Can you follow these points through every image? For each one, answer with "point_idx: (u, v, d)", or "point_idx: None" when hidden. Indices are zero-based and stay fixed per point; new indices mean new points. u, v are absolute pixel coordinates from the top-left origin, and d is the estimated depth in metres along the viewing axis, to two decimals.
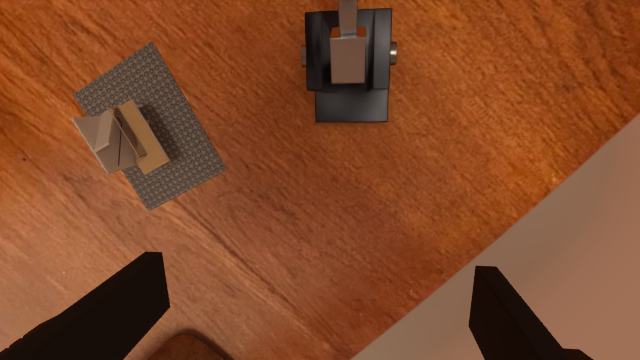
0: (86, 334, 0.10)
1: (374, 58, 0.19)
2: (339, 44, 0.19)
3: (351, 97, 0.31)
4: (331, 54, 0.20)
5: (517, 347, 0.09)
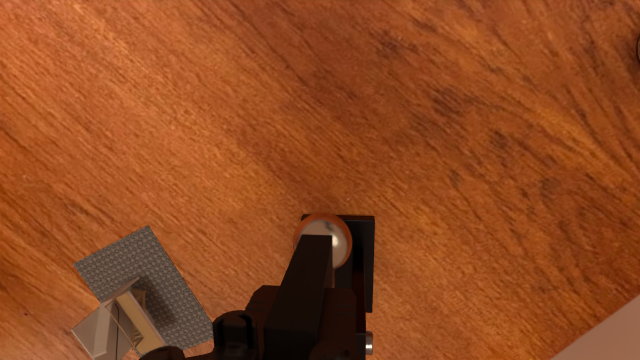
0: None
1: None
2: None
3: None
4: None
5: None
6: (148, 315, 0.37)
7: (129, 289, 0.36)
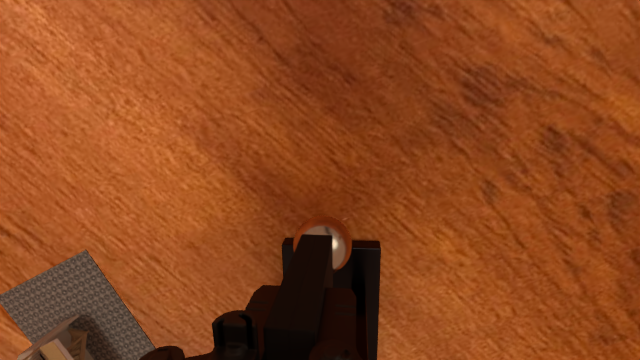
0: None
1: None
2: None
3: None
4: None
5: None
6: None
7: (66, 330, 0.28)
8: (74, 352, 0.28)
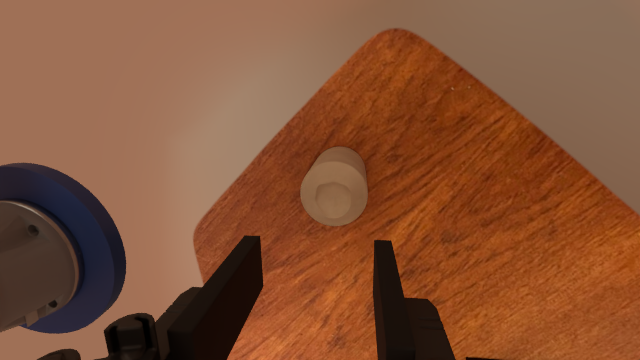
0: (226, 302, 0.11)
1: None
2: None
3: None
4: None
5: (378, 297, 0.11)
6: None
7: None
8: None
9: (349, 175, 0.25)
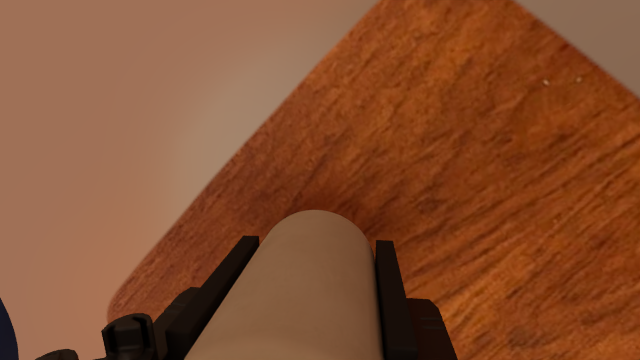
0: None
1: None
2: None
3: None
4: None
5: (380, 297, 0.11)
6: None
7: None
8: None
9: None
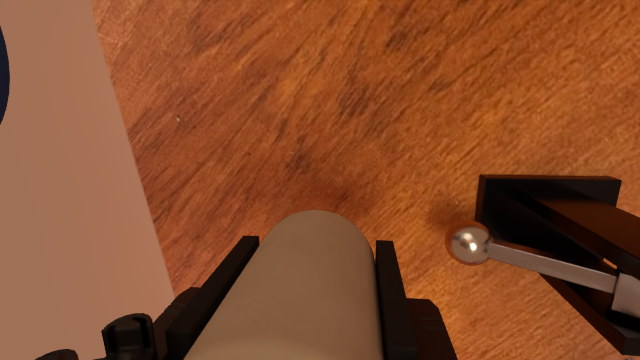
0: None
1: None
2: (623, 302, 0.16)
3: None
4: (636, 315, 0.16)
5: (380, 297, 0.11)
6: None
7: None
8: None
9: None
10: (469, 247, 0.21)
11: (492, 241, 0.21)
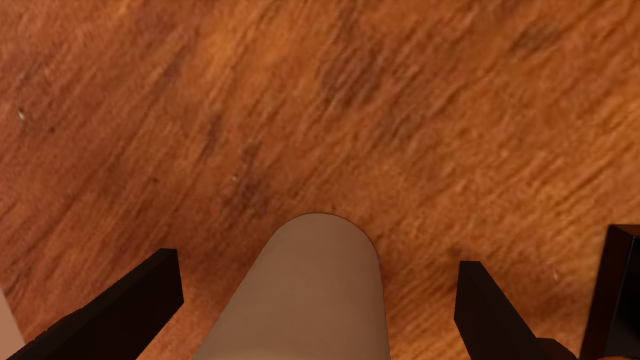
0: (108, 327, 0.10)
1: None
2: None
3: None
4: None
5: (494, 336, 0.09)
6: None
7: None
8: None
9: None
10: None
11: None
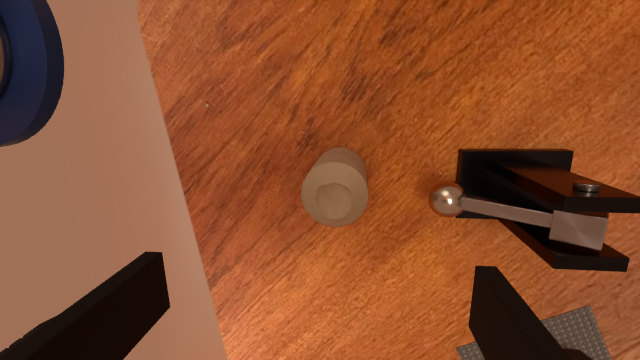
0: (86, 334, 0.10)
1: (610, 211, 0.20)
2: (556, 232, 0.22)
3: None
4: (565, 241, 0.22)
5: (517, 347, 0.09)
6: None
7: None
8: None
9: (350, 176, 0.25)
10: (446, 200, 0.26)
11: (464, 196, 0.27)
